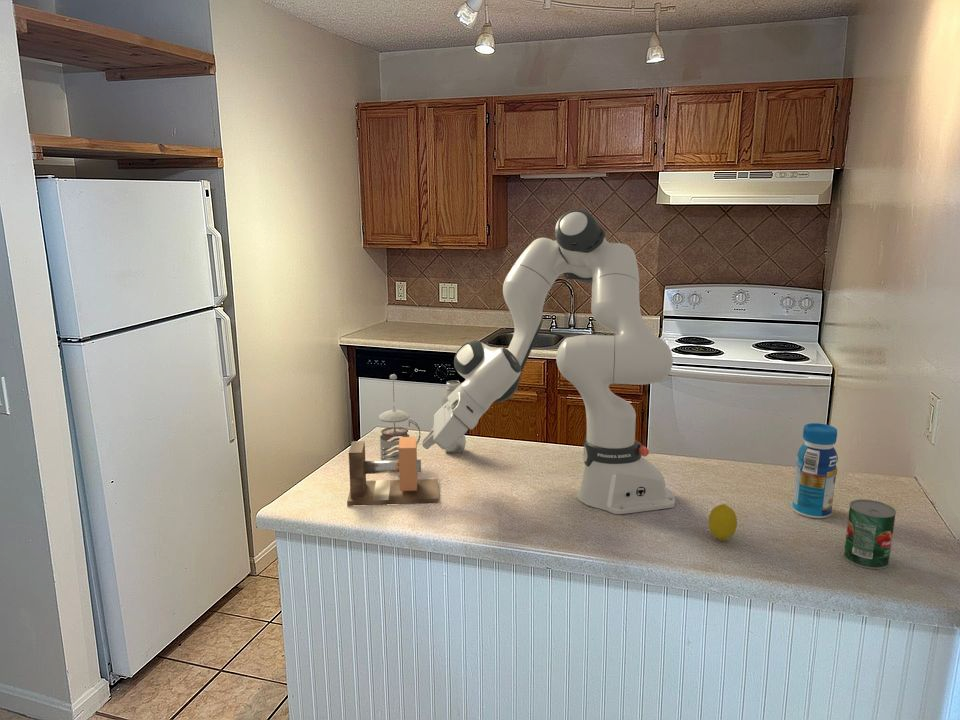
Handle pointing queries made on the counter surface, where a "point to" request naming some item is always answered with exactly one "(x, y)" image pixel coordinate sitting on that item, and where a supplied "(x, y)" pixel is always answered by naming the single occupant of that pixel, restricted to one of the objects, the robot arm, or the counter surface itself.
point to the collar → (408, 463)
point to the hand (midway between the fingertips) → (424, 445)
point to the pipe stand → (383, 485)
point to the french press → (393, 430)
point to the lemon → (722, 522)
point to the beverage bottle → (816, 471)
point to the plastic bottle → (450, 387)
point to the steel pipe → (385, 466)
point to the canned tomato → (869, 534)
